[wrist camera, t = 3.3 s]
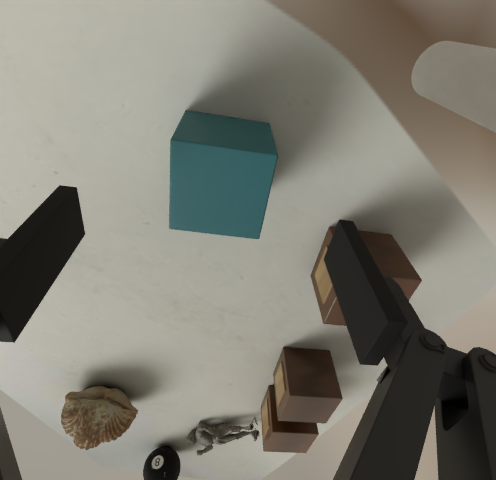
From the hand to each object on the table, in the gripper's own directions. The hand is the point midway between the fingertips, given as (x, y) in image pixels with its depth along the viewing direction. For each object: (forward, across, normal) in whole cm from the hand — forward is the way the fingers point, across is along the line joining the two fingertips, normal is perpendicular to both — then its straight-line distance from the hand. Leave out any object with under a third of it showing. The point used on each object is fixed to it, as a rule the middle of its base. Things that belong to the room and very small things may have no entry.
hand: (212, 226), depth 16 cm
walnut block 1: (+9, +13, -26) cm, 31 cm away
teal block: (+10, 0, 0) cm, 10 cm away
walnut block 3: (+9, +13, -8) cm, 18 cm away
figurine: (+10, +5, -45) cm, 46 cm away
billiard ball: (+10, -4, -55) cm, 56 cm away
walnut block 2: (+9, +13, -35) cm, 39 cm away
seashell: (+10, -12, -36) cm, 39 cm away
